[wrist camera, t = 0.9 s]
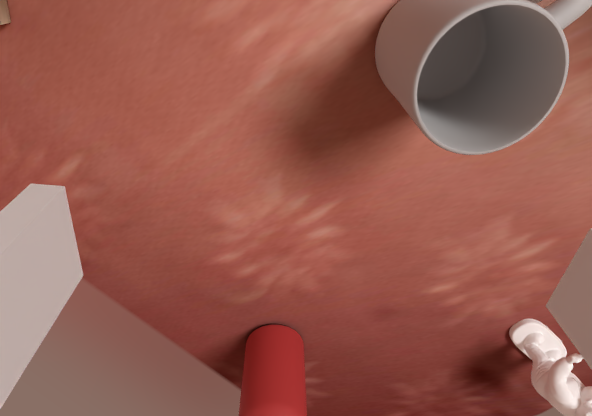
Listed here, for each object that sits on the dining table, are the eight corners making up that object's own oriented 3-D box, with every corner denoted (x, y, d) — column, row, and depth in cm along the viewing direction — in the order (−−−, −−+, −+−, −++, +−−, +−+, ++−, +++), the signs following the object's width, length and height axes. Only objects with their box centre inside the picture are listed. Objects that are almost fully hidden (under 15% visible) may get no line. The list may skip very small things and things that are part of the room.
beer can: (275, 311, 46) (272, 414, 36) (315, 341, 49) (323, 445, 38) (234, 340, 48) (220, 445, 38) (274, 367, 51) (271, 472, 41)
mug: (410, 122, 35) (455, 183, 26) (352, 37, 31) (380, 73, 22) (548, 24, 31) (661, 54, 22) (500, -84, 28) (610, -103, 18)
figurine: (584, 343, 50) (662, 444, 40) (535, 370, 52) (596, 471, 42) (547, 305, 46) (621, 404, 36) (495, 335, 49) (551, 437, 39)
